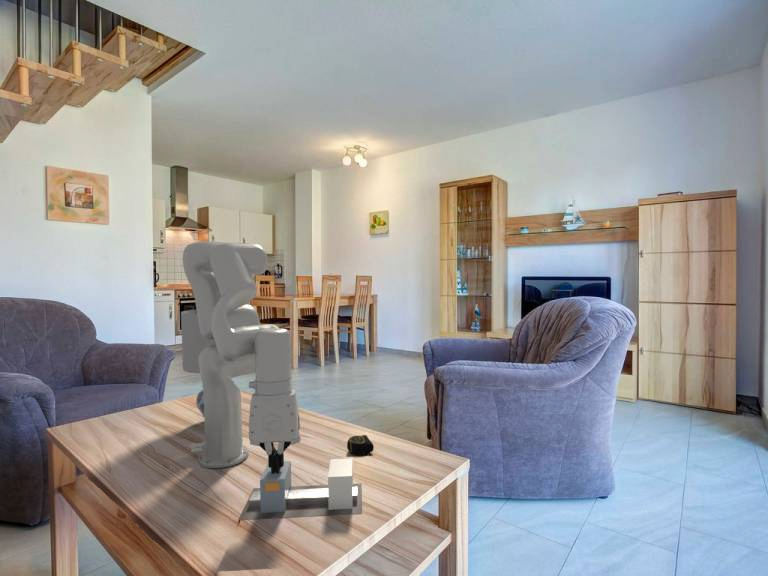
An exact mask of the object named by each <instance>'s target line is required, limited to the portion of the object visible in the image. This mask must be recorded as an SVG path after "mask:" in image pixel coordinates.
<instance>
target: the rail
mask: <svg viewBox="0 0 768 576" xmlns="http://www.w3.org/2000/svg"><path fill="white" fill-rule="evenodd" d="M249 497H250V496H249ZM352 498H353V502H357V487H353V494H352ZM248 499H249V498H248ZM311 504H329V502H328V488H322V489H300V490H289V491H288V495H287V498H286V506H290V505H311ZM249 507H261V500H260V491H257V492H253V493H252V495H251V497H250V499H249Z"/></svg>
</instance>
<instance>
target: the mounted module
mask: <svg viewBox="0 0 768 576" xmlns="http://www.w3.org/2000/svg"><path fill="white" fill-rule="evenodd" d="M353 460H354V459H353V458H334V459H332V458H331V459H330V461H329V468H328V473H327V485H328V502H329V510H333V509H353V498H352V494H353V484H354V478H353V475H354V470H353Z"/></svg>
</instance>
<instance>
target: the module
mask: <svg viewBox="0 0 768 576" xmlns="http://www.w3.org/2000/svg"><path fill="white" fill-rule="evenodd" d="M291 487H292V460H284V466H283V467H281V469H280V471H279V473H276V472H274V473H271V468H269V466H268V463H267V465H266V466H265V469H264V471H263V473H262V474H261V477H260V479H259V488H260V500H261V513H272V512H285V511H286V498H287V495H288V491H289V490H291Z"/></svg>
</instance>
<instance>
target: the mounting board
mask: <svg viewBox="0 0 768 576" xmlns="http://www.w3.org/2000/svg"><path fill="white" fill-rule="evenodd" d="M353 487H357V502H353V509H333V510H329V504H311V505H290V506H286V511H285V512H272V513H261V507H249V499H250V497H251V495H252V493H253V492H257V491H260V487H256V488H255V487H253V488H252V491H251V492H250V494H249V496H248V498H247V501H246V503H245V506H244V507H243V509H242V511H241V514H240V516H239V517H238V519H237V520H238V521H237V522H238V525H240V523H241V521H249V520H251V521H252V520H270V519H272V520H273V519H286V518H287V519H288V518H289V519H290V518H306V517H307V518H309V517H326V516H327V517H329V516H332V517H333V516H347V515H348V516H349V515H362V514H363V496H362V495H363V493H362V492H363V489H362V488H363V486H362V483H359V482H357V483H353ZM322 488H328V484H318V485H317V484H316V485H298V486H297V485H296V486H295V485H294V486H292V485H291V490H300V489H322Z"/></svg>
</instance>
